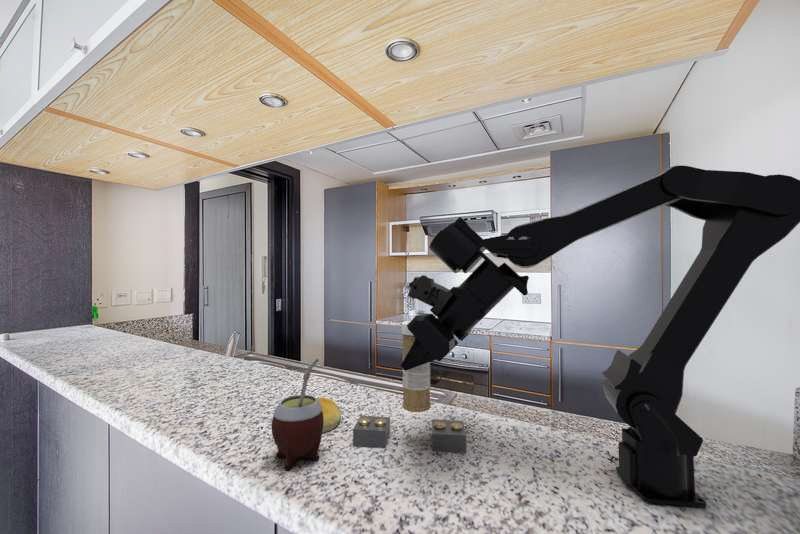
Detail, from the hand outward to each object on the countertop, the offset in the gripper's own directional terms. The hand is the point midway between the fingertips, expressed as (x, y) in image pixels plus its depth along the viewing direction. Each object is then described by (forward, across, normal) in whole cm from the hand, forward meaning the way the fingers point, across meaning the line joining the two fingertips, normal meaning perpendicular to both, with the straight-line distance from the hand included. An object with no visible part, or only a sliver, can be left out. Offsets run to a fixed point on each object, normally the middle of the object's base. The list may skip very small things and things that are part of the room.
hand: (408, 364), depth 51 cm
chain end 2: (+4, -2, +13) cm, 14 cm away
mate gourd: (+17, +10, 0) cm, 20 cm away
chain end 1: (+12, +2, +4) cm, 13 cm away
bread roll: (+21, 0, -4) cm, 21 cm away
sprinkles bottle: (+4, 0, +6) cm, 7 cm away
